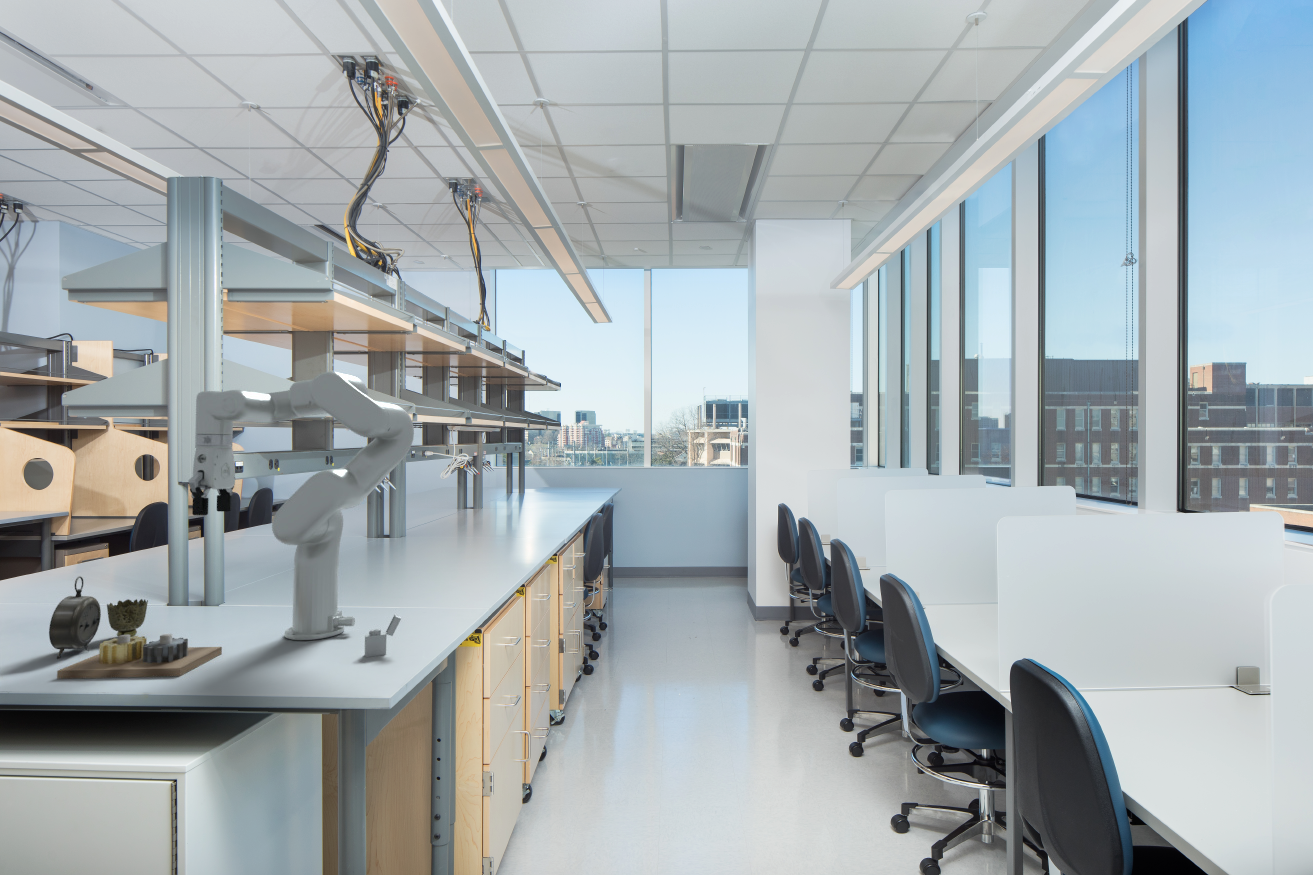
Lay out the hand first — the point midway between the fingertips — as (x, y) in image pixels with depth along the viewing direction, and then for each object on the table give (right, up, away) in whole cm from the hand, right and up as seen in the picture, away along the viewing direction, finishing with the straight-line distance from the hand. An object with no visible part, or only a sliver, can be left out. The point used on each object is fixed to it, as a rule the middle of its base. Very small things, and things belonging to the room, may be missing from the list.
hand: (212, 513), depth 159 cm
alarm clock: (-17, -28, -18) cm, 37 cm away
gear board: (+4, -28, -26) cm, 38 cm away
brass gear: (0, -26, -27) cm, 37 cm away
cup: (-16, -28, -6) cm, 33 cm away
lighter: (+49, -29, -17) cm, 59 cm away
